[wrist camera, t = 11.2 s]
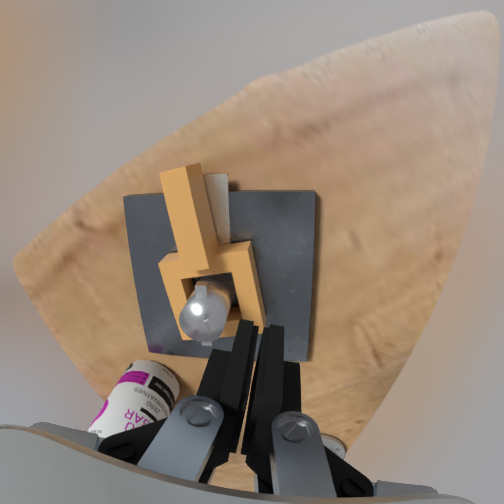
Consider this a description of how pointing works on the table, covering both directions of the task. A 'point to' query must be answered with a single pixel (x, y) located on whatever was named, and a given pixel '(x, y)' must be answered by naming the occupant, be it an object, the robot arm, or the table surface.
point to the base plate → (222, 285)
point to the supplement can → (137, 399)
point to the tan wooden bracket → (205, 251)
